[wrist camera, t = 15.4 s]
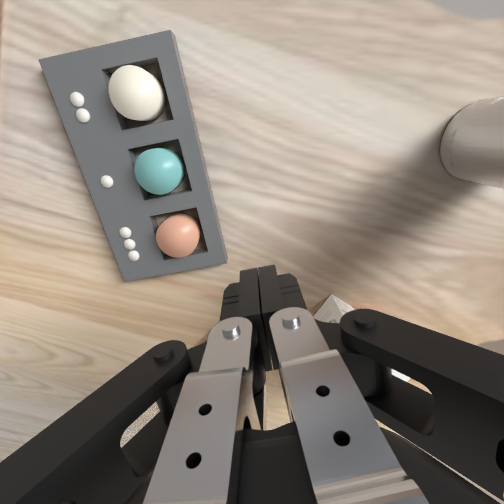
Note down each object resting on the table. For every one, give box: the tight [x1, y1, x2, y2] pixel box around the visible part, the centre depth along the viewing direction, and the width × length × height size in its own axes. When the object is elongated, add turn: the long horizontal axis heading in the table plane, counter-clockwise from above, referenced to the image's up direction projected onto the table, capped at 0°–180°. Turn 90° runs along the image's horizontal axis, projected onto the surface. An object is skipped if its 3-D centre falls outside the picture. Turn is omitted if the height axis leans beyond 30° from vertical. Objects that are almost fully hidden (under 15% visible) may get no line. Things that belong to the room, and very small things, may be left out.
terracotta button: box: [156, 213, 201, 258], centre depth 38 cm, size 5×5×3 cm
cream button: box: [109, 65, 165, 121], centre depth 32 cm, size 5×5×3 cm
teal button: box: [134, 148, 185, 195], centre depth 35 cm, size 5×5×3 cm
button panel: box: [39, 30, 228, 282], centre depth 36 cm, size 14×26×2 cm, turn 11°
